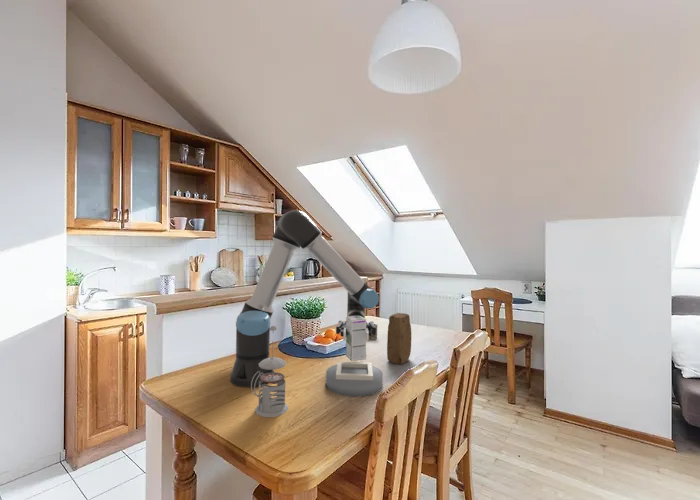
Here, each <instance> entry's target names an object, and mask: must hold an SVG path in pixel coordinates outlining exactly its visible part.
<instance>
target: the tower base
mask: <svg viewBox="0 0 700 500" xmlns="http://www.w3.org/2000/svg"><path fill="white" fill-rule="evenodd" d="M372 364H373V363H372V362H365V361H364V362H363V361H362V362H359V361H337V364H333V365H332V366H330V367H329V368H327V369H326V371H325V372H326V373H325V374H326V375H325V386H326V388H327V389H328V390H329V391H331V392H332V393H334V394H336V395H337V394H338V395H339V396H340V395H341V396H346V397H358V396H360V397H367V396H366V395H368V396H371V395H370V394H372V395H374V394H373V393H375V394H377V393H379V390H380V391H381V390H382V388H383V382H384V381H383V377H384V376H383V375H384V373H383V371H382V370H381V369H380V368H379V367H377V366H374V365H372ZM376 392H377V393H376Z"/></svg>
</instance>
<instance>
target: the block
mask: <svg viewBox="0 0 700 500" xmlns="http://www.w3.org/2000/svg"><path fill="white" fill-rule="evenodd" d="M411 352H412V325H411V320H410V314H408V313H405V312H404V313H403V312H402V313H401V312H397V313H394V314H391V315H390V316H389V318H388V327H387V341H386V354H387V355H386V357H387V361H388V362H390V363H392V364H396V365H403V364H406V363H407V362H408V360H409V358H410V356H411Z"/></svg>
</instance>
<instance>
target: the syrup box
mask: <svg viewBox="0 0 700 500" xmlns="http://www.w3.org/2000/svg"><path fill="white" fill-rule="evenodd" d="M345 319H346V321H345V322H346V340H345V357H347V358H348V359H349V360H350V362H358V361H363V360H366V359H367V341H366V322H367V319H366V317H365V318H363V317H361V316H348V317H347V316H346V317H345Z"/></svg>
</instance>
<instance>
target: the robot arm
mask: <svg viewBox="0 0 700 500" xmlns="http://www.w3.org/2000/svg"><path fill="white" fill-rule="evenodd" d="M322 232H323V231H322V230H320V229H319V227H318V226H317V225H316V223H315V222H314V221H313V220H312V219H311V218H310V217H309V215H308V214H307V213H306V212H304V211H302V210H298V209H293V210H290V211H287V212H285V213H283V214H282V215H281V216H280V217H279V219H278V220H277V224H276V228H275V230H274V233H273V235H272V241H273V245H272V248H271V250H270V253H269V255H268V258H267V260H266V262H265V265H264V267H263V269H262V271H261V274H260V277H259V279H258V282H257V284H256V286H255V289H254V291H253V293H252V296H251V298H250V299H248V300H246V301H245V303H244V306H243V307H242V310H241V311H240V313H239V314H238V316H237V317H236V321H235V328H236V330H235V332H236V333H235V334H236V336H235V337H236V338H235V360H234V363H233V365H232V369H231V373H230V377H229V378H230V379H229V380H230V383H231V384H232V385H234V386H237V387H244V388H249V387H250V388H251V382H252V388H254V384H255V381H256V379H257V377H258V375H260V374H261V373H263V374H265V373H272V370H266V369H262V368H260V367H259V363H260V362H261V361H262V360H264V359H267V358H271V357H270V339H271V338H270V337H271V335H270V334H271V330H270V327H271V318H272V316H273V313H274V309H273V303H274V302H275V299H276V296H277V294H278V291H279V289H280V287H281V284H282V282H283V280H284V276H285V275H286V272H287V269H288V268H289V264H290V262H291V260H292V257H293V255H294V252H295V251H297V250H300V248H302V250H307V251H308V252H309V253H310V254H311V255H312V257H314V258H315V259H316V260H317V262H319V263H320V265H321V266H322V267H323V268H324V269H326V271H327V272H328V273H329V274H330V275H331V277H333V278H334V279H335V280H336V282H338V283H339V284H340V285H341V286H342V288H344V289H345V290H346V292H347V303H346V304H347V305H346V306H347V310H346V317H348V316H361V317H363V318H365V319H366V316H365V315H366V314H365V313H366V311H365V309H368V310H369V309H374V308H375V307H376V306H377V305H378V304H379V294H378V292H377V291H376V290H375V289H374V288H373V289H372V288H371V287H370V286H369V285H368V284H367V283H366V281H365V279H364V278H361V276H360V275H359V274H358V273H357V272H356V271H355V269H353V268H352V267H351V265H349V263H348V262H347V261H346V260H345V259H344V258H343V257H342V255H340V254H339V253H338V252H337V251H336V250H335V248H334V247H333V246H332V245H331V244H330V243H329V242H328V241H327V239H325V237H323V236H322V235H323V234H322ZM374 324H375V323H374V321H369V322H367V321H366V342H369V339H370V338H369V336H371V335H372V334H373V335H376V327H375V326H374ZM335 334H336V335H339V334H340V336H341V337H342V338H343V339H342V340H343V341H346V321H342V320H338V324H337V325H336V327H335ZM258 371H260V374H259V372H258ZM257 372H258V373H257ZM274 372H275V369H273V373H274ZM256 373H257V374H256ZM255 374H256V375H255ZM263 374H261V376H262V375H263ZM254 375H255V377H254V379H253V376H254ZM261 376H259V377H258V379H257V381H256V384H255V387H259V381H260V377H261ZM252 379H253V381H252ZM263 384H266V385H267V383H266V382H262V383H261V384H260V385H263Z"/></svg>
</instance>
